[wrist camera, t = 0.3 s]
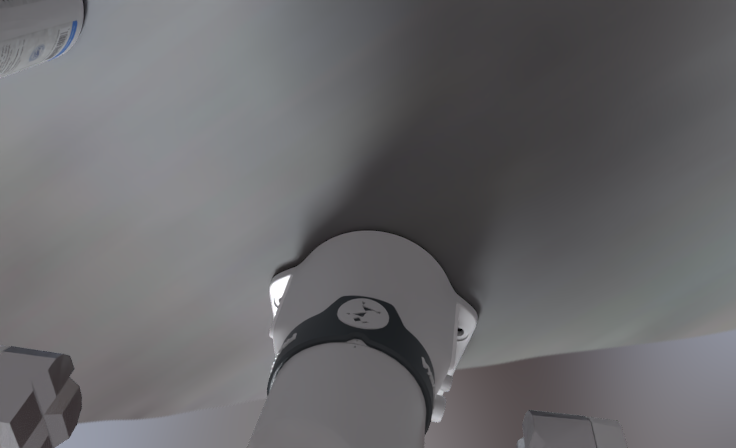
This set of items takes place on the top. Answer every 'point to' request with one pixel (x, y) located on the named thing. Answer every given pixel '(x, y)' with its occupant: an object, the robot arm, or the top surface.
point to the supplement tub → (36, 31)
